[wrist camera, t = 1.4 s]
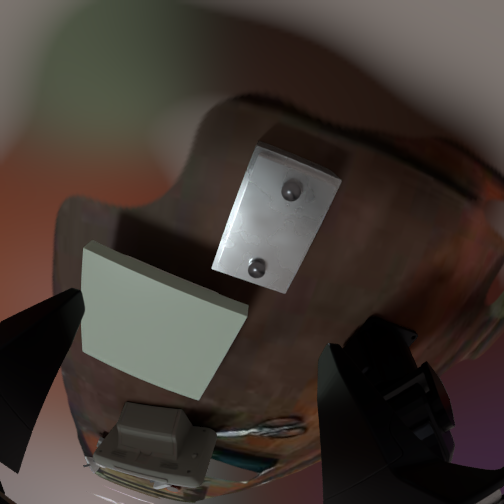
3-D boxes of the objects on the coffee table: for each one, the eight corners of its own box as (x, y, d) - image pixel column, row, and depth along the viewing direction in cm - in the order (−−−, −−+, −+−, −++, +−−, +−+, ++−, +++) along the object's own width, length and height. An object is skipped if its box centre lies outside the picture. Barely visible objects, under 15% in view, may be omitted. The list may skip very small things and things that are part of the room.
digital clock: (120, 418, 36) (101, 470, 26) (104, 388, 32) (78, 448, 22) (218, 439, 36) (209, 499, 26) (217, 414, 31) (206, 486, 22)
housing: (329, 169, 18) (346, 184, 14) (283, 267, 21) (285, 303, 17) (258, 140, 17) (255, 147, 13) (219, 244, 21) (208, 277, 17)
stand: (251, 282, 22) (247, 316, 18) (205, 369, 27) (198, 400, 23) (110, 225, 20) (83, 247, 16) (99, 325, 25) (82, 351, 22)
